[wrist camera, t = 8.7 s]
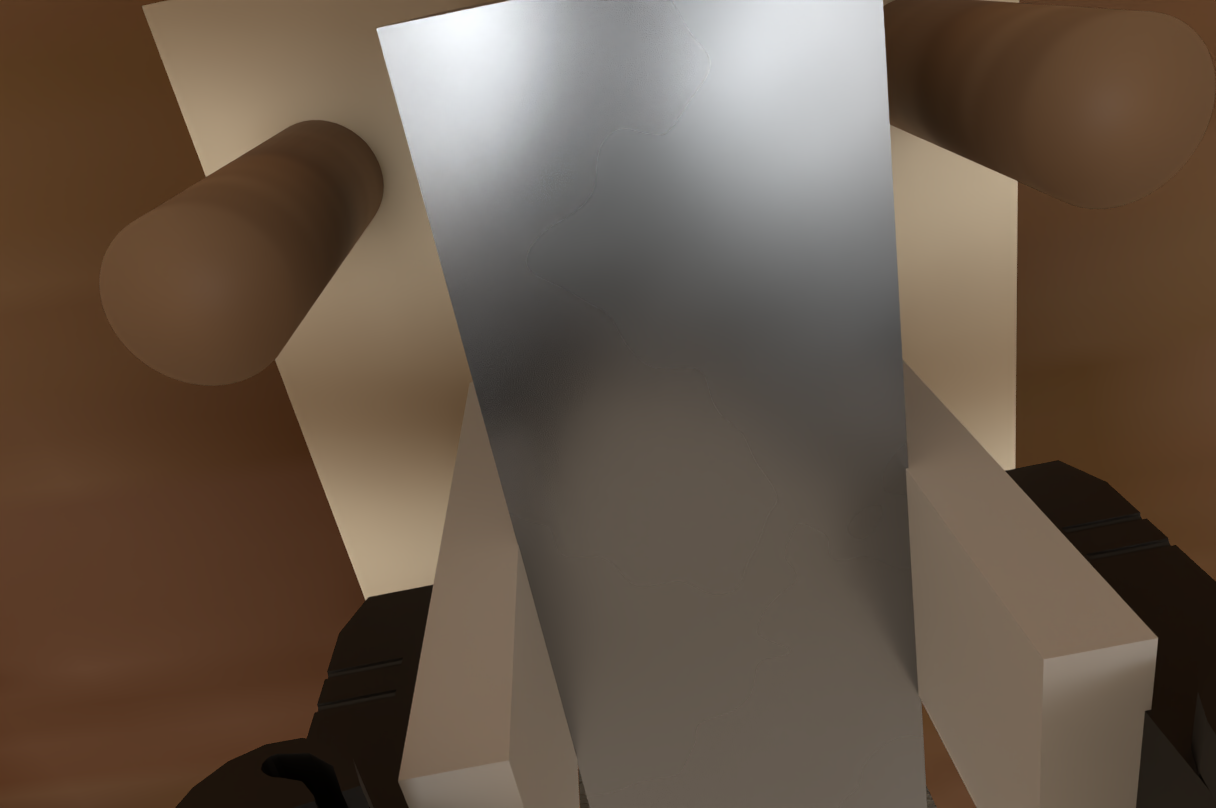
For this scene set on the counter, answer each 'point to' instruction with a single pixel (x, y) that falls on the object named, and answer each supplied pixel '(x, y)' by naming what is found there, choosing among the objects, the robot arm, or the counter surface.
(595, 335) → the grey metal bar
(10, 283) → the counter surface
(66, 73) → the counter surface
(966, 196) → the rack
